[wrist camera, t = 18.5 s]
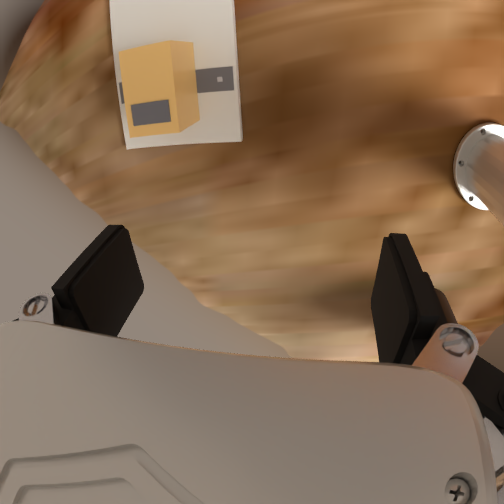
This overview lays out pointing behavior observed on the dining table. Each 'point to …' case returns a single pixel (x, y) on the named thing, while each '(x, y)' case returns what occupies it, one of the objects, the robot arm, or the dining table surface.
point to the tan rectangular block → (159, 88)
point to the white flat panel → (205, 55)
